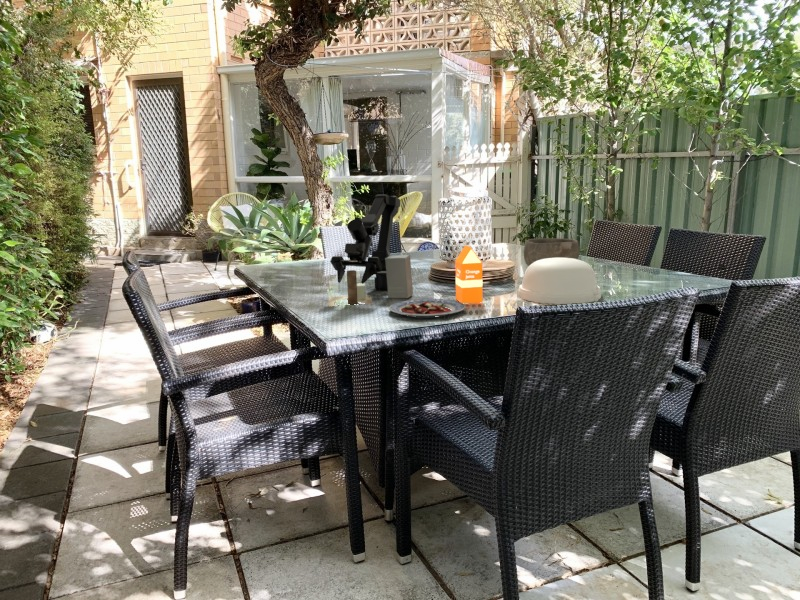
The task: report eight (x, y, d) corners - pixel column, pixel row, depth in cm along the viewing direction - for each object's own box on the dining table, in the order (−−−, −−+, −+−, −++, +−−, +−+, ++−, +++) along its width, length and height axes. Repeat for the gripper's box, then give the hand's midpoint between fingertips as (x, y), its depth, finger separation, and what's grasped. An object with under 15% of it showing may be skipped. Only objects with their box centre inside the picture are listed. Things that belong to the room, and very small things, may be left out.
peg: (355, 302, 229) (354, 270, 226) (359, 303, 226) (357, 271, 223) (346, 303, 227) (345, 270, 225) (350, 305, 224) (348, 272, 222)
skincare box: (413, 295, 240) (412, 254, 236) (407, 299, 233) (406, 257, 230) (392, 294, 242) (391, 254, 239) (386, 298, 236) (384, 256, 233)
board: (370, 295, 242) (370, 295, 242) (372, 305, 224) (372, 304, 224) (329, 297, 240) (329, 296, 240) (327, 307, 223) (327, 306, 223)
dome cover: (499, 296, 234) (499, 259, 231) (546, 285, 253) (546, 251, 250) (574, 308, 210) (575, 267, 207) (619, 295, 230) (620, 257, 227)
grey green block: (365, 295, 241) (364, 283, 240) (365, 298, 235) (365, 285, 234) (349, 296, 240) (349, 283, 239) (350, 299, 234) (349, 286, 233)
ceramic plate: (408, 325, 194) (408, 315, 194) (378, 309, 218) (377, 301, 217) (479, 315, 204) (479, 306, 204) (443, 301, 228) (443, 293, 227)
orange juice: (475, 298, 231) (475, 244, 227) (482, 303, 222) (482, 247, 218) (455, 299, 230) (454, 245, 226) (461, 304, 221) (461, 248, 217)
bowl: (585, 276, 269) (586, 242, 266) (529, 278, 270) (529, 243, 267) (571, 268, 293) (571, 236, 290) (519, 269, 293) (519, 238, 290)
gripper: (331, 234, 228) (318, 268, 220) (378, 234, 222) (367, 270, 214) (341, 253, 237) (329, 286, 229) (387, 253, 231) (376, 288, 223)
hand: (350, 282), depth 224 cm, fingers open, 9 cm apart
